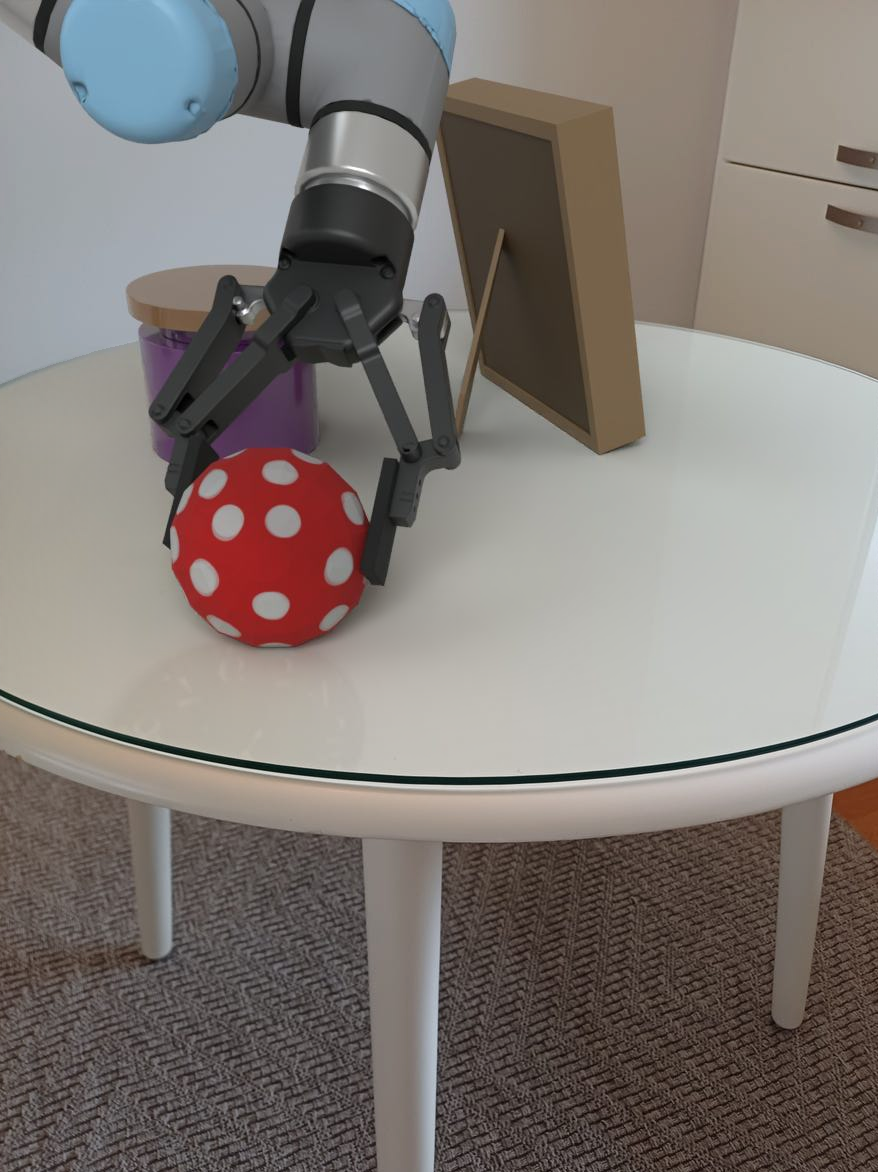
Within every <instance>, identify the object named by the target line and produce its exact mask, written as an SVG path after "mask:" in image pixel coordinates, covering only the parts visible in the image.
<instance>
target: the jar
mask: <svg viewBox="0 0 878 1172" xmlns="http://www.w3.org/2000/svg"><path fill="white" fill-rule="evenodd" d="M276 270H277V267H274V266H264V265H255V264H253V265H252V264H205V265H191V266H184V267H183V266H182V267H175V268H170V269H165V270H164V269H163V270H160V271H155V272H151V273H148V274H145V275H142V276H139V277H137V278H135V279H133V280H131V281H130V282H129V283H128V284H127V286H126V287H125V297H126V306H127V310H128V313H129V315H130V316H131V317H132V318H133V319H135V320H136V321H138V322H140V323H141V324H140V325H139V326H138V329H137V336H138V337H137V338H138V343H139V352H140V359H141V360H140V361H141V367H142V375H143V383H144V391H145V397H146V399H145V400H146V407H147V411H148V410H149V407H150V406H151V404H152V402H153V401H154V399H155V398H156V396H157V394H158V393H159V391H160V390H161V388H162V387H163V385H164V383H165V382H166V380H167V379H168V377H169V375H170V374H171V372H172V371H173V369H174V368H175V366H176V364H177V363H178V361H179V360H180V358H181V357H182V355H183V353H184V352H185V350H186V349H187V347H188V345H189V344H190V342H191V341H192V339H193V338H194V336H195V334H196V333H197V331H198V330H199V328H200V326H201V325H202V323H203V322H204V320H205V319H206V317H207V315H208V314H209V312H210V311H211V309H212V305H213V301H214V297H215V293H216V288H217V284H218V281H219V280H220V279H221V278H222V277H223V276H225V275H232V276H234V277H235V278H236V279H237V281H238V283H239V284H240V285H254V286H265V285H266V284H267V282H268V281H269V280H270V279H271V278H272V277H273V275H274V274H275V272H276ZM269 317H270V314H269V312H268V310H267V309H264V310H261V311H260V312H258V314H257V315H256V317H255V323H254V324H253V325H251V326H248V325H246V328H245V332H244V334H243V336H242V338H241V340H240V342H239V344H238V346H237V347H236V349H235V350H234V352H233V354H232V355H231V357H230V358H229V360H228V362H227V363H226V365H225V366H224V368H223V370H222V371H221V373H220V374H219V376H220V375H221V374H222V372H223V371H224V370H225V369H226V368H227V367H228V366H229V365H230V364H231V363H232V362H233V361H234V360H235V359H236V358H237V357H238V356H239V355H240V354H241V353H242V352H243V351H244V350H245V349H246V348H247V347H248V346H249V345H250V344H251V342H252V341H253V335H254V333H255V332H256V330H257V329H258V328H259V327H260V326H261V325H262V324H263V323H264V322H265V321H266V320H267V319H268V318H269ZM278 344H279V347H281V346H282V345H283V344H284V342H283V340H282V338H281V339H280V341H279V343H278ZM317 371H318V370H317V364H308V363H302V362H301V361H300V360H299V361H298V362H297V363H296V364H295V365H294V366H293V367H292V368H291V369H290V370H289V371H288V372H287V373H284V374H279V375H278V376H277V377H276V378H275V379H274V380H273V381H272V382H271V383H270V384H269V385H268V386H267V387H266V388H265V389H264V390H263V391H262V392H261V393H260V394H259V395H258V396H257V398H256V399H255V400H254V401H253V402H252V403H251V404H250V405H249V406H248V407H247V408H246V409H245V410H244V411H243V412H242V413H241V414H240V415H239V416H238V417H237V418H236V419H235V420H234V421H233V422H232V423H231V424H230V425H229V427H228V428H227V429H226V430H225V431H224V432H223V433H222V434H221V435H220V436H219V437H218V438H217V439H216V440H215V441H214V442H213V443H212V444H211V445H210V446H211V447H212V448H213V449H214V450H215V451H216V453H217V454H218V455H219V456H220V457H219V460H220V459H223V458H225V457H227V456H230V455H232V454H235V453H237V452H240V451H242V450H244V449H247V448H292V449H294V450H297V451H299V452H301V453H304V454H306V455H309V454H310V453H311V452H313V451H314V450H315V449H316V448H317V447H318V445H319V442H320V438H321V437H320V436H321V435H320V418H319V417H320V416H319V415H320V414H319V394H318V393H319V392H318V391H319V390H318V372H317ZM219 376H218V377H219ZM147 415H148V424H149V430H150V438H151V447H152V449H153V452H154V453H156V455H157V456H159V458H161V459H162V460H165V461H166V462H168V463H169V461H170V457H171V453H172V449H173V446H174V441H175V438H171V437H169V436H167V435H166V434H165V432H164V431H163V430H162V429H161V428H160V427H159V426H158V425H157V424H156V423H155V422H154V421H153V420H152V419H151V417H150V416H149V414H148V413H147Z"/></svg>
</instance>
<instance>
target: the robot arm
mask: <svg viewBox="0 0 878 1172" xmlns="http://www.w3.org/2000/svg"><path fill="white" fill-rule="evenodd" d="M0 22H2V23H3V24H4V25H6V26H7V27H9V29H11V30H12V31H13V32H15V33H16V34H17V35H18V36H20V37H22V39H24V40H25V41H26V42H27V43H29V44H30V45H32V46H33V47H34V48H36V49H37V50H38V51H39V52H41V53H42V54H43V55H45V56H46V57H47V58H49V59H50V60H51V61H52V62H53V63H55V64H56V65H57V66H58V67H60V68H61V69H62V70H63V74H64V77H65V79H66V81H67V83H68V85H69V87H70V89H71V91H72V93H73V95H74V97H75V99H76V100H77V102H78V103H79V105H80V106H81V108H82V109H83V110H84V112H85V113H86V114H87V115H88V116H89V117H90V118H91V119H92V120H93V121H94V122H95V123H96V124H97V125H98V126H100V127H101V128H103V129H104V130H105V131H107V132H109V133H110V134H112V135H114V136H116V137H118V138H120V139H122V140H124V141H128V142H131V143H136V144H142V145H159V144H167V143H177V142H185V141H186V142H187V141H190V140H194V139H196V138H197V137H199V136H200V135H203V134H205V133H208V132H209V131H210V130H211V129H212V128H213V127H214V126H215V125H216V124H217V123H218V122H221V121H224V120H227V119H229V118H231V117H234V116H236V115H242V116H247V117H251V118H257V119H261V120H265V121H270V122H275V123H279V124H283V125H284V124H285V125H290V126H291V127H294V128H298V129H308V130H309V131H308V136H307V141H306V145H305V148H304V152H303V156H302V158H301V159H302V160H301V162H300V167H299V170H298V172H297V173H298V174H297V177H296V181H295V183H294V192H293V193H294V194H293V195H294V197H293V199H292V201H291V203H290V207H289V211H288V215H287V219H286V222H285V226H284V231H283V235H282V239H281V243H280V246H279V251H278V252H279V253H278V261H277V267H276V268H277V270H276V272H275V274H274V275H273V277H272V278H271V279H270V280H269V281H268V282H267V284H266V285H265V286H254V285H240V284H239V283H238V281H237V279H236V278H235V277H234V276H232V275H225V276H223V277H222V278H221V279H220V280H219V281H218V284H217V288H216V293H215V297H214V301H213V305H212V309H211V311H210V312H209V314H208V315H207V317H206V319H205V320H204V322H203V323H202V325H201V326H200V328H199V330H198V331H197V333H196V334H195V336H194V338H193V339H192V341H191V342H190V344H189V345H188V347H187V349H186V350H185V352H184V353H183V355H182V357H181V358H180V360H179V361H178V363H177V364H176V366H175V368H174V369H173V371H172V372H171V374H170V375H169V377H168V379H167V380H166V382H165V383H164V385H163V387H162V388H161V390H160V391H159V393H158V394H157V396H156V398H155V399H154V401H153V402H152V404H151V406H150V407H149V410H148V409H147V415H148V414H149V416H150V417H151V419H152V420H153V421H154V422H155V423H156V424H157V425H158V426H159V427H160V428H161V429H162V430H163V431H164V432H165V434H166V435H167V436H169V437H171V438H175V441H174V446H173V449H172V453H171V457H170V461H169V462H168V465H167V469H166V471H165V472H166V473H165V477H164V480H163V481H164V487H165V490H166V491H167V492H168V493H169V494H170V495H171V496H172V497H173V500H172V504H171V508H170V511H169V516H168V520H167V523H166V528H165V531H164V535H163V539H162V542H161V543H162V544H163V545H164V546H165V547H166V548H167V549H168V550H169V551H171V540H170V527H171V525H172V522H173V520H174V517H175V514H176V512H177V509H178V506H179V504H180V501H181V498H182V496H183V493H184V491H185V490H186V489H187V488H188V487H189V486H190V485H191V484H192V483H193V482H194V481H195V480H196V479H197V478H198V477H199V476H200V475H201V474H202V473H203V472H204V471H205V470H206V469H207V468H208V466H209V465H210V464H211V463H213V462H215V461H218V460H219V457H220V456H219V455H218V454H217V453H216V451H215V450H214V449H213V448H212V447H211V446H210V445H211V444H212V443H213V442H214V441H215V440H216V439H217V438H218V437H219V436H220V435H221V434H222V433H223V432H224V431H225V430H226V429H227V428H228V427H229V425H230V424H231V423H232V422H233V421H234V420H235V419H236V418H237V417H238V416H239V415H240V414H241V413H242V412H243V411H244V410H245V409H246V408H247V407H248V406H249V405H250V404H251V403H252V402H253V401H254V400H255V399H256V398H257V396H258V395H259V394H260V393H261V392H262V391H263V390H264V389H265V388H266V387H267V386H268V385H269V384H270V383H271V382H272V381H273V380H274V379H275V378H276V377H277V376H278V375H279V374H284V373H287V372H288V371H289V370H290V369H291V368H292V367H293V366H294V365H295V364H296V363H297V362H298V361H299V360H300V361H301V362H302V363H308V364H316V365H317V364H318V365H319V364H324V363H328V364H331V365H334V366H337V367H339V368H349V369H352V368H353V365H354V364H359V363H361V365H362V368H363V371H364V372H365V374H366V377H367V380H368V382H369V384H370V387H371V389H372V391H373V394H374V397H375V399H376V402H377V403H378V406H379V408H380V410H381V413H382V415H383V417H384V419H385V422H386V425H387V427H388V429H389V430H388V431H390V433H391V437H392V439H393V441H394V444H395V446H396V450H397V451H398V454H399V459H398V458H394V457H386V456H384V457H383V459H382V463H381V467H380V474H379V478H378V484H377V487H376V492H375V495H374V501H373V506H372V511H371V515H370V520H369V523H370V524H369V529H368V534H367V539H366V543H365V548H364V553H363V557H362V562H361V567H360V570H361V572H362V573H363V574H364V576H365V577H366V578H367V580H368V581H367V582H369V584H370V585H371V586H377V587H385V586H386V581H387V577H388V576H387V575H388V571H389V566H390V561H391V558H392V553H393V547H394V542H395V537H396V532H397V528H398V527H399V528H401V527H402V528H412V526H413V525H414V523H415V522H416V521H417V520H416V519H417V514H418V509H419V506H420V500H421V496H422V490H423V485H424V480H425V478H426V476H427V475H428V474H429V473H431V472H432V471H435V470H441V469H444V470H447V471H453V470H456V469H458V468H459V467H460V465H461V463H462V453H461V448H460V447H461V446H460V442H459V441H460V439H459V440H458V434H457V427H456V420H455V416H456V413H455V408H454V401H453V395H452V388H451V381H450V375H449V368H448V362H447V361H448V360H447V355H446V349H447V344H448V341H449V336H450V331H451V328H452V321H451V318H450V314H449V311H448V308H447V305H446V301H445V298H444V297H443V295H442V294H441V293H439V292H438V293H437V292H432V293H429V294H428V295H427V296H425V298H424V299H423V300H418V299H411V298H404V295H403V294H404V289H405V285H406V281H407V277H408V272H409V267H410V262H411V257H412V252H413V248H414V243H415V231H416V229H417V227H418V223H419V218H420V214H421V209H422V204H423V200H424V196H425V192H426V187H427V183H428V178H429V174H430V167H431V164H432V163H431V162H432V159H433V156H434V155H433V154H434V150H435V146H436V143H437V142H436V138H437V133H438V129H439V125H440V121H441V116H442V112H443V108H444V104H445V99H446V95H447V92H448V88H449V85H450V78H451V73H452V72H451V71H452V66H453V60H454V52H455V48H456V47H455V46H456V41H457V34H458V33H457V21H456V16H455V13H454V9H453V7H452V5H451V2H450V1H449V0H0ZM264 309H267V310H268V312H269V314H270V317H269V318H268V319H267V320H266V321H265V322H264V323H263V324H262V325H261V326H260V327H259V328H258V329H257V330H256V332H255V333H254V335H253V341H252V342H251V344H250V345H249V346H248V347H247V348H246V349H245V350H244V351H243V352H242V353H241V354H240V355H239V356H238V357H237V358H236V359H235V360H234V361H233V362H232V363H231V364H230V365H229V366H228V367H227V368H226V369H225V370H224V371H223V372H222V374H221V375H220V376H219V374H220V373H221V371H222V370H223V368H224V366H225V365H226V363H227V362H228V360H229V358H230V357H231V355H232V354H233V352H234V350H235V349H236V347H237V346H238V344H239V342H240V340H241V338H242V336H243V334H244V332H245V328H246V325H248V326H251V325H253V324H254V323H255V317H256V315H257V314H258V312H260V311H261V310H264ZM404 323H406V324H407V325H408V327H409V330H410V333H411V336H412V338H413V339H414V340H416V341H417V343H418V344H417V345H418V351H419V357H420V365H421V371H422V377H423V386H424V393H425V398H426V404H427V405H426V406H427V412H428V418H429V419H428V420H429V425H430V433H431V438H430V439H425V440H421V441H419V439H418V436H417V435H416V432H415V430H414V428H413V426H412V422H411V420H410V418H409V415H408V413H407V411H406V409H405V406H404V404H403V402H402V400H401V397H400V395H399V393H398V390H397V387H396V385H395V382H394V381H393V378H392V376H391V374H390V371H389V368H388V367H387V363H386V362H385V359H384V357H383V355H382V352H381V350H380V348H379V347H380V346H381V345H382V344H383V343H384V342H385V341H386V340H388V338H390V336H392V334H393V333H395V332H396V331H397V330H398V329H399V328H400V327H401V326H402V325H403V324H404ZM281 338H282V340H283V342H284V344H283V345H282V346H281V347H279V344H278V343H279V341H280V339H281ZM218 376H219V377H218ZM149 416H148V417H149Z"/></svg>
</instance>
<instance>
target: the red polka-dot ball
mask: <svg viewBox="0 0 878 1172" xmlns="http://www.w3.org/2000/svg"><path fill="white" fill-rule="evenodd" d="M369 524H370V520H369V518H368V516H367V513H366V511H365V508H364V507H363V503H362V501H361V499H360V497H359V494H358V492H357V491H356V490H355V488H353V487H352V486H351V485H350V484H349V483H348V481H346V480H345V479H344V478H343V477H342V476H341V475H340V474H339V473H338V472H337V471H336V470H335V469H334V468H333V467H332V466H331V464H329V463H328V462H326V461H323V460H320V459H318V458H316V457H313V456H310V455H309V454H307V455H306V454H304V453H301V452H299V451H297V450H294V449H292V448H247V449H244V450H242V451H240V452H237V453H235V454H232V455H230V456H227V457H225V458H223V459H220V460H218V461H215V462H213V463H211V464H210V465H209V466H208V468H207V469H206V470H205V471H204V472H203V473H202V474H201V475H200V476H199V477H198V478H197V479H196V480H195V481H194V482H193V483H192V484H191V485H190V486H189V487H188V488H187V489H186V490H185V491H184V493H183V496H182V498H181V501H180V504H179V506H178V509H177V512H176V514H175V517H174V520H173V522H172V525H171V527H170V540H171V550H170V560H171V561H170V562H171V563H170V565H171V570H172V572H173V574H174V577H175V579H176V581H177V583H178V585H179V588H180V590H181V592H182V594H183V596H184V599H185V601H186V603H187V605H188V606H189V607H190V608H191V609H192V610H193V611H194V612H196V614H197V615H199V616H200V617H201V618H202V619H203V620H204V621H205V622H206V623H207V624H208V625H209V626H210V627H212V628H213V630H215V631H216V632H217V633H218V634H221V635H224V636H227V637H229V638H232V639H234V640H237V641H239V642H242V643H244V644H247V645H249V646H251V647H255V648H268V647H269V648H276V647H277V648H279V647H280V648H281V647H286V648H287V647H289V648H290V647H293V648H295V647H296V646H299V645H302V644H304V643H307V642H309V641H311V640H314V639H316V638H319V637H321V636H323V635H326V634H329V633H331V632H332V631H333V630H334V629H335V628H336V627H337V626H338V625H339V624H340V623H341V622H342V621H343V620H344V619H345V618H346V617H347V616H348V615H350V613H351V612H352V611H353V610H354V609H355V608H356V607H357V606H358V605H359V603H360V601H361V598H362V596H363V593H364V591H365V588H366V586H367V583H368V582H369V581H368V580H367V578H366V577H365V576H364V574H363V573H362V572H361V570H360V567H361V562H362V557H363V553H364V548H365V543H366V539H367V534H368V529H369Z"/></svg>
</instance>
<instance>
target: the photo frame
mask: <svg viewBox="0 0 878 1172" xmlns="http://www.w3.org/2000/svg"><path fill="white" fill-rule="evenodd" d="M435 143H436V147H437V152H438V158H439V162H440V168H441V173H442V178H443V183H444V189H445V194H446V198H447V205H448V210H449V214H450V219H451V226H452V230H453V235H454V241H455V246H456V251H457V252H456V253H457V257H458V263H459V267H460V272H461V277H462V282H463V288H464V294H465V299H466V303H467V308H468V315H469V318H470V319H469V320H470V325H471V329H472V330H471V331H472V333H473V334H472V335H473V337H472V341H471V344H470V349H469V353H468V357H467V361H466V366H465V369H464V375H463V377H462V383H461V386H460V389H459V390H460V391H459V394H458V400H457V406H456V410H455V411H456V412H455V420H456V427H457V434H458V440H459V441H460V438H461V436H462V434H463V431H464V429H465V428H464V427H465V423H466V418H467V415H468V409H469V404H470V400H471V395H472V391H473V386H474V382H475V377H476V372H477V367H479V372H480V375H482V376H483V377H484V376H485V378H486V379H487V380H489V381H490V382H492V383H493V384H494V385H496V386H498V387H499V388H501V390H504V391H505V392H507V393H508V394H509V395H511V396H513V397H514V398H515V399H516V400H518V401H519V402H521V403H522V404H524V405H525V406H527V407H528V408H530V409H531V410H532V411H534V412H536V413H537V414H539V415H540V416H541V417H543V418H544V419H546V420H548V421H549V422H550V423H552V424H553V425H554V426H556V427H558V428H559V429H560V430H562V431H563V432H565V433H567V434H568V435H569V436H571V437H572V438H574V439H575V440H577V441H578V442H580V443H581V444H583V445H584V446H585V447H587V448H589V449H590V450H591V451H593V452H594V453H595V454H597V455H598V456H600V455H602V454H605V453H608V452H610V451H613V450H615V449H617V448H620V447H622V446H625V445H627V444H629V443H632V442H635V441H637V440H640V439H643V438H644V437H647V434H646V424H645V423H646V422H645V413H644V404H643V395H642V394H643V393H642V384H641V375H640V373H641V372H640V364H639V355H638V345H637V344H638V343H637V335H636V326H635V325H636V323H635V314H634V306H633V305H634V304H633V295H632V285H631V276H630V274H631V273H630V266H629V265H630V264H629V255H628V246H627V236H626V226H625V216H624V215H625V214H624V208H623V207H624V205H623V196H622V188H621V187H622V186H621V177H620V168H619V167H620V166H619V157H618V148H617V147H618V146H617V138H616V128H615V119H614V108H613V106H610V105H607V104H600V103H596V102H592V101H587V100H582V99H579V98H573V97H568V96H563V95H560V94H555V93H550V92H545V91H540V90H535V89H531V88H526V87H522V86H517V85H513V84H507V83H503V82H498V81H494V80H489V79H484V78H478V77H471V78H468V79H464V80H460V81H457V82H454V83H449V88H448V92H447V95H446V99H445V104H444V108H443V112H442V116H441V121H440V125H439V129H438V133H437V138H436V142H435Z"/></svg>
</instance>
